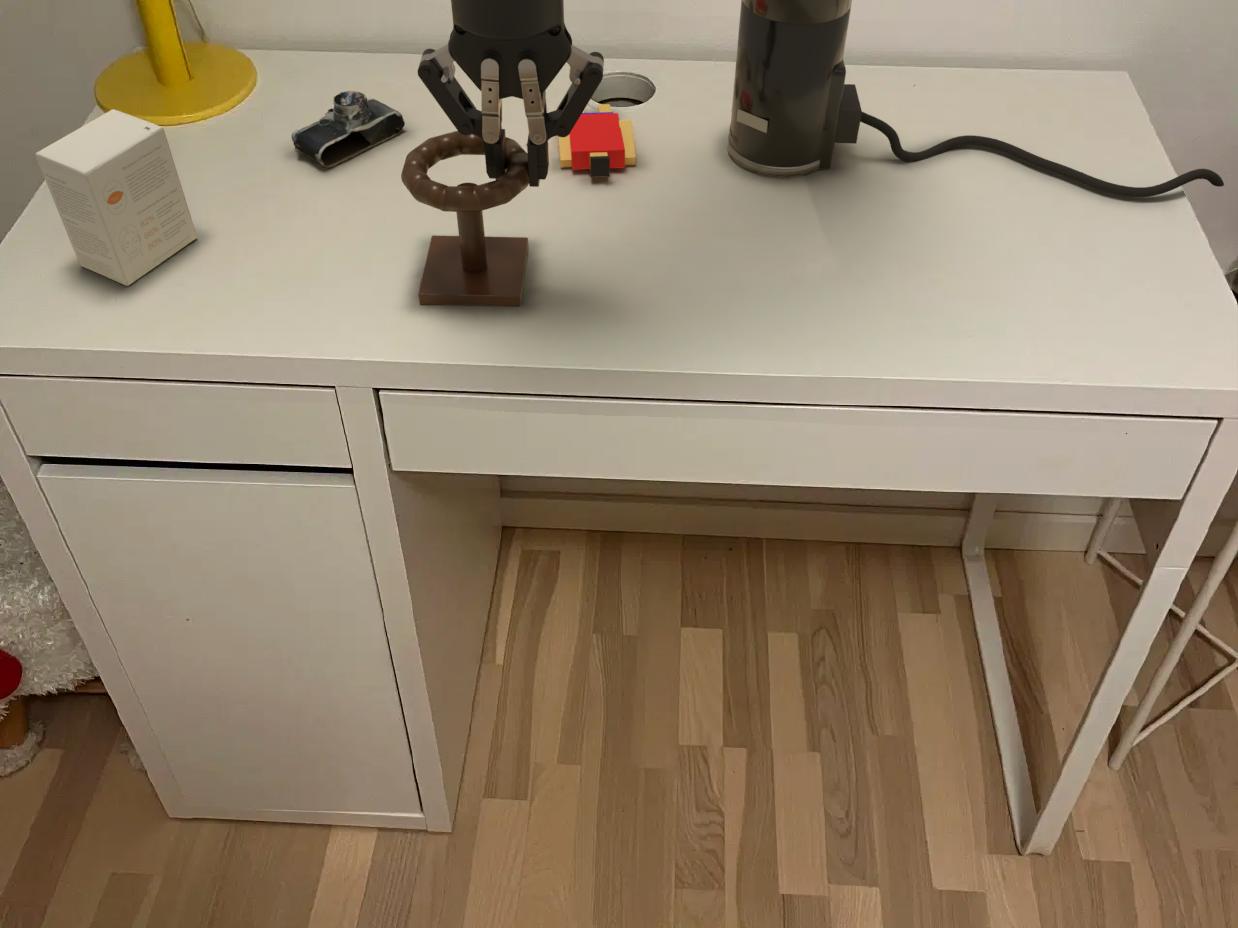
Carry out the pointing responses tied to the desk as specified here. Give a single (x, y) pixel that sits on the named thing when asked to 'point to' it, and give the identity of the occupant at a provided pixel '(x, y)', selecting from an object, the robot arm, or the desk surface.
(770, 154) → the robot arm
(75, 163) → the small box
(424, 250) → the desk surface
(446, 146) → the ring
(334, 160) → the camera
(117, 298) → the desk surface
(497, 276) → the post
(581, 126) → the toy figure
